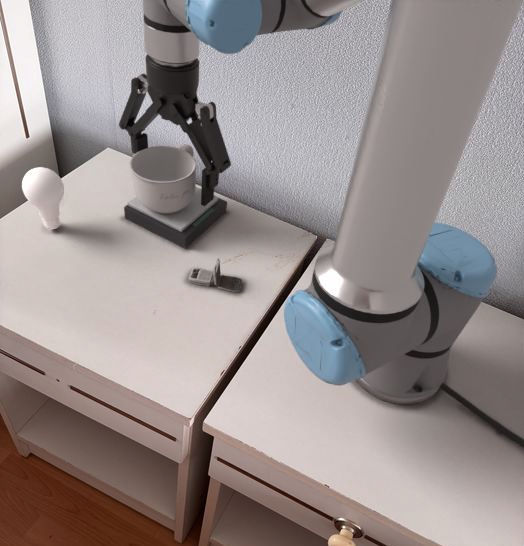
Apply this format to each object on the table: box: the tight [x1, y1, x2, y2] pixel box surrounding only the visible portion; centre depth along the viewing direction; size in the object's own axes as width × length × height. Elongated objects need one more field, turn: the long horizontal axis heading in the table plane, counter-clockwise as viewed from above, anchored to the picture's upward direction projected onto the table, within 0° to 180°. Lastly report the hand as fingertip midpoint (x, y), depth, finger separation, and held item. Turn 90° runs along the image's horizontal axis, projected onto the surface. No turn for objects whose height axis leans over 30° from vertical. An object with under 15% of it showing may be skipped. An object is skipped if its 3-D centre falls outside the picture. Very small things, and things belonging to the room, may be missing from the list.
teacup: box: [129, 143, 197, 214], centre depth 88 cm, size 14×11×8 cm
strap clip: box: [188, 257, 243, 293], centre depth 82 cm, size 8×3×4 cm, turn 81°
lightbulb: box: [21, 166, 65, 230], centre depth 83 cm, size 6×6×11 cm
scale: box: [123, 186, 228, 250], centre depth 92 cm, size 13×13×3 cm
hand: (174, 186), depth 89 cm, fingers open, 13 cm apart
